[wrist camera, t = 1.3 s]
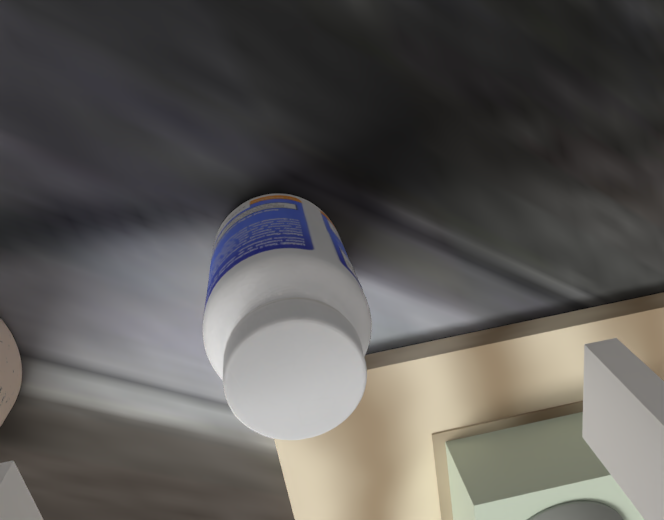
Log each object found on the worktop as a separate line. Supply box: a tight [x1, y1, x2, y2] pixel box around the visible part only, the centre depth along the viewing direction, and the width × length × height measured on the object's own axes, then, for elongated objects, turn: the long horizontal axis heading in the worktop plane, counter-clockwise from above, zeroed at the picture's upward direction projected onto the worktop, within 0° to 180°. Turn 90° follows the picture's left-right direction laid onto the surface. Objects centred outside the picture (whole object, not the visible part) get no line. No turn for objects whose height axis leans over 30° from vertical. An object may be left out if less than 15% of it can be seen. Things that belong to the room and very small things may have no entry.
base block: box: [445, 412, 645, 520], centre depth 28 cm, size 8×8×4 cm
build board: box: [274, 292, 664, 520], centre depth 30 cm, size 20×14×1 cm
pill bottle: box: [203, 193, 372, 440], centre depth 20 cm, size 5×5×10 cm
